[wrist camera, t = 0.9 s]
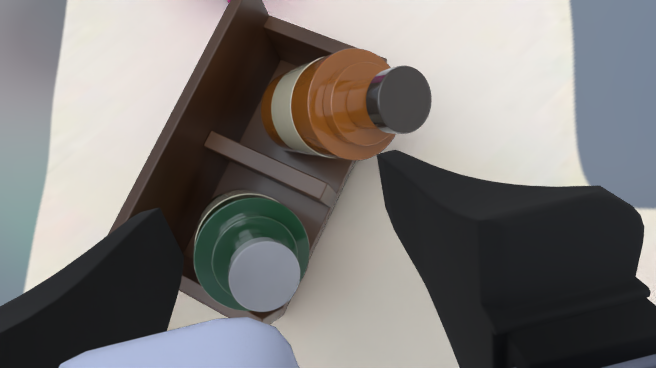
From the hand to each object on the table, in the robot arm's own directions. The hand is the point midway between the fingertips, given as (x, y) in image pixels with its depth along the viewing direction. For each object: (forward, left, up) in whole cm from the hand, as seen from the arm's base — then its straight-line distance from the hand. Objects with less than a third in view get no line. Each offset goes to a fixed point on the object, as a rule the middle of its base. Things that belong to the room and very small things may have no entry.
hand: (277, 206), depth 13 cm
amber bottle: (+4, -6, -10) cm, 12 cm away
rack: (+4, -2, -13) cm, 14 cm away
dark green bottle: (+5, +2, -10) cm, 12 cm away
